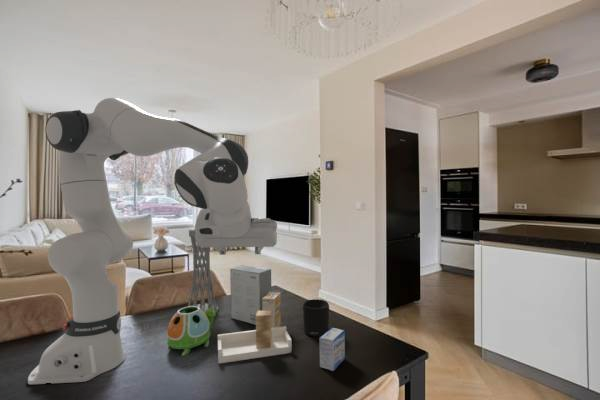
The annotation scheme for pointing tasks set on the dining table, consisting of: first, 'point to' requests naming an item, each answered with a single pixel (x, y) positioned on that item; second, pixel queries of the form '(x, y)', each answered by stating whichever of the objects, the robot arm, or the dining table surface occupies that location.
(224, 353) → the cream shelf
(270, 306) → the supplement box
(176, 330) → the turtle holder
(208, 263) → the vase
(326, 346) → the medicine box
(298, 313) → the dining table surface
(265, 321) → the oak blank
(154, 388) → the dining table surface
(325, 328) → the pen holder
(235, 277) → the hard drive box
